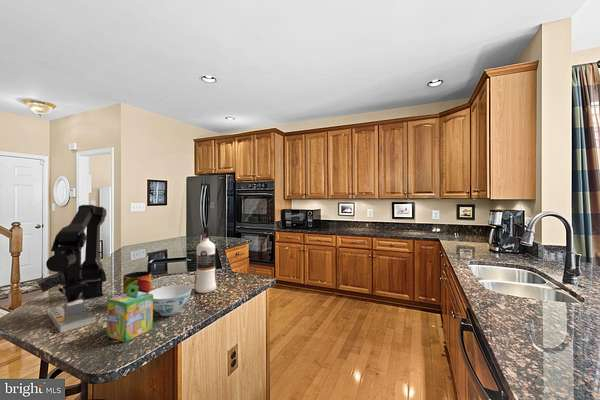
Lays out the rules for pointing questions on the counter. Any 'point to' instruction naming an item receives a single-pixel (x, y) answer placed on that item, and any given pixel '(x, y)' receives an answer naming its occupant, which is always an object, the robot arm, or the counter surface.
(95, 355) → the counter surface
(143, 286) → the mug
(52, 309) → the console
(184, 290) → the chinaware
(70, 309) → the fader tab
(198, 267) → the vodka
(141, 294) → the chalk box
